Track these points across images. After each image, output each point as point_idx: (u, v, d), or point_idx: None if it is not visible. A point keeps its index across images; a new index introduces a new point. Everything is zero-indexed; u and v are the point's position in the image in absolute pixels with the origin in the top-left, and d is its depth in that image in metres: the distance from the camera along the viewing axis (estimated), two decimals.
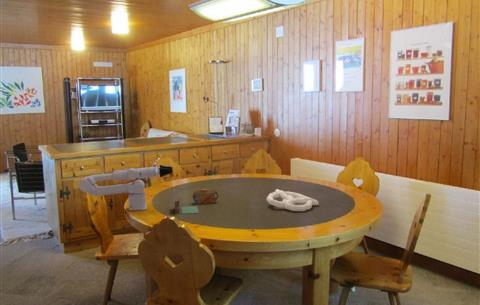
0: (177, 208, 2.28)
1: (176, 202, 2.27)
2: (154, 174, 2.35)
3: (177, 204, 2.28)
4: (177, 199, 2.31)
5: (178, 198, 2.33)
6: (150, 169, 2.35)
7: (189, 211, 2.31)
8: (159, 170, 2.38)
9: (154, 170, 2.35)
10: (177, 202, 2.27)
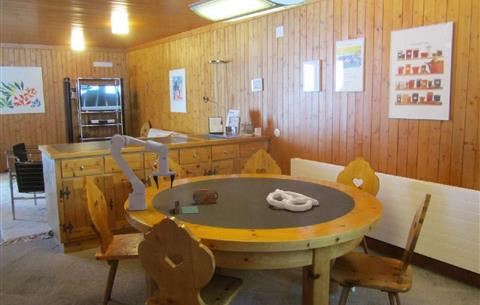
0: (177, 208, 2.28)
1: (176, 202, 2.27)
2: (168, 171, 2.41)
3: (177, 204, 2.28)
4: (177, 199, 2.31)
5: (178, 198, 2.33)
6: None
7: (189, 211, 2.31)
8: (163, 175, 2.42)
9: None
10: (177, 202, 2.27)
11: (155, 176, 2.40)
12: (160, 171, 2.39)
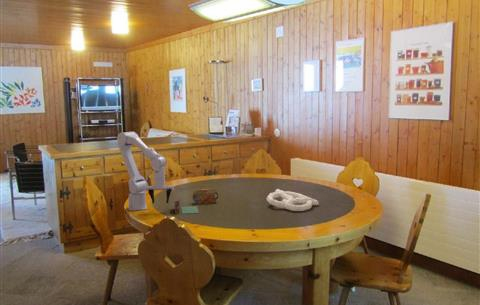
0: (177, 208, 2.28)
1: (176, 202, 2.27)
2: (164, 185, 2.29)
3: (177, 204, 2.28)
4: (177, 199, 2.31)
5: (178, 198, 2.33)
6: None
7: (189, 211, 2.31)
8: (159, 189, 2.30)
9: None
10: (177, 202, 2.27)
11: (150, 190, 2.29)
12: (155, 185, 2.27)
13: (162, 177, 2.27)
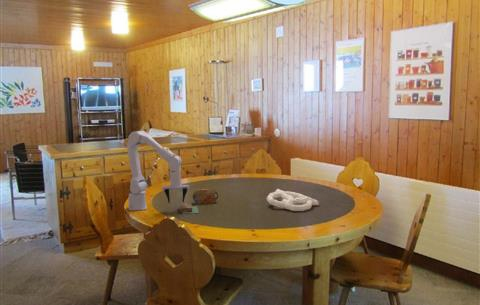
0: (184, 210, 2.29)
1: (190, 209, 2.29)
2: (180, 184, 2.30)
3: (188, 210, 2.29)
4: None
5: None
6: None
7: None
8: None
9: None
10: (190, 210, 2.29)
11: (166, 189, 2.30)
12: (172, 184, 2.29)
13: (179, 176, 2.29)
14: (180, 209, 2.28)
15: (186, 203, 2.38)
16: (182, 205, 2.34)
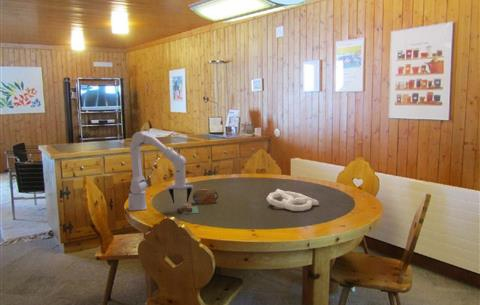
0: (184, 210, 2.29)
1: (190, 209, 2.29)
2: (184, 184, 2.31)
3: (188, 210, 2.29)
4: None
5: None
6: None
7: None
8: None
9: None
10: (190, 210, 2.29)
11: (171, 189, 2.30)
12: (176, 184, 2.29)
13: (183, 176, 2.29)
14: (180, 209, 2.28)
15: (186, 203, 2.38)
16: (182, 205, 2.34)
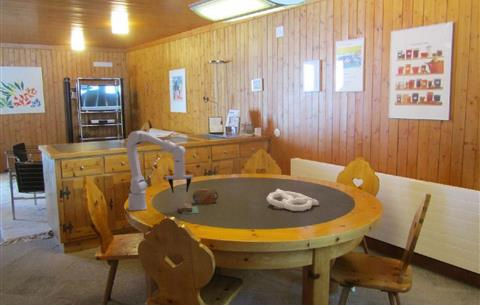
0: (184, 210, 2.29)
1: (190, 209, 2.29)
2: (184, 174, 2.30)
3: (188, 210, 2.29)
4: None
5: None
6: None
7: None
8: (178, 179, 2.31)
9: None
10: (190, 210, 2.29)
11: (170, 179, 2.30)
12: (176, 174, 2.29)
13: (183, 166, 2.29)
14: (180, 209, 2.28)
15: (186, 203, 2.38)
16: (182, 205, 2.34)
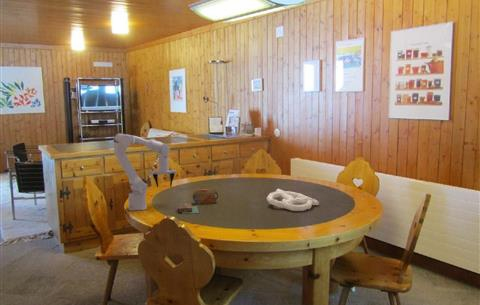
0: (184, 210, 2.29)
1: (190, 209, 2.29)
2: (168, 169, 2.45)
3: (188, 210, 2.29)
4: None
5: None
6: None
7: None
8: None
9: None
10: (190, 210, 2.29)
11: (155, 174, 2.45)
12: (160, 169, 2.43)
13: None
14: (180, 209, 2.28)
15: (186, 203, 2.38)
16: (182, 205, 2.34)
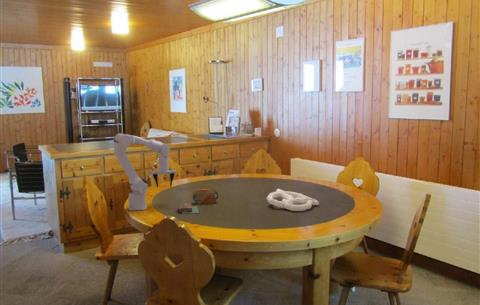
0: (184, 210, 2.29)
1: (190, 209, 2.29)
2: (168, 169, 2.45)
3: (188, 210, 2.29)
4: None
5: None
6: None
7: None
8: None
9: None
10: (190, 210, 2.29)
11: (155, 174, 2.45)
12: (160, 169, 2.43)
13: None
14: (180, 209, 2.28)
15: (186, 203, 2.38)
16: (182, 205, 2.34)
